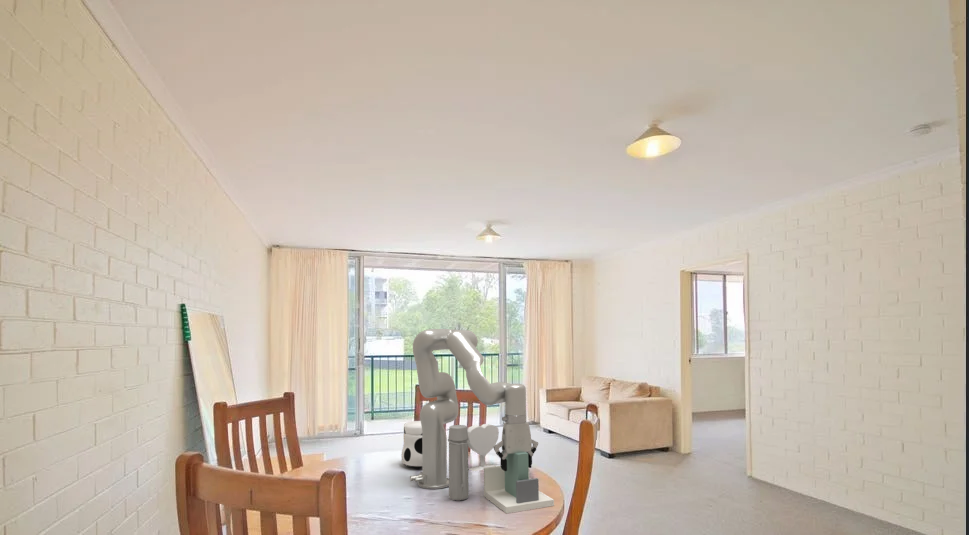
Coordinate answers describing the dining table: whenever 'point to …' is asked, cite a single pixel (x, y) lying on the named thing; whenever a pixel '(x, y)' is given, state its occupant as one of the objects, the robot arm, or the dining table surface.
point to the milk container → (412, 445)
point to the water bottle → (458, 462)
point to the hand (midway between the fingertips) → (516, 468)
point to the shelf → (525, 492)
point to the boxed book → (516, 471)
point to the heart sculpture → (482, 442)
